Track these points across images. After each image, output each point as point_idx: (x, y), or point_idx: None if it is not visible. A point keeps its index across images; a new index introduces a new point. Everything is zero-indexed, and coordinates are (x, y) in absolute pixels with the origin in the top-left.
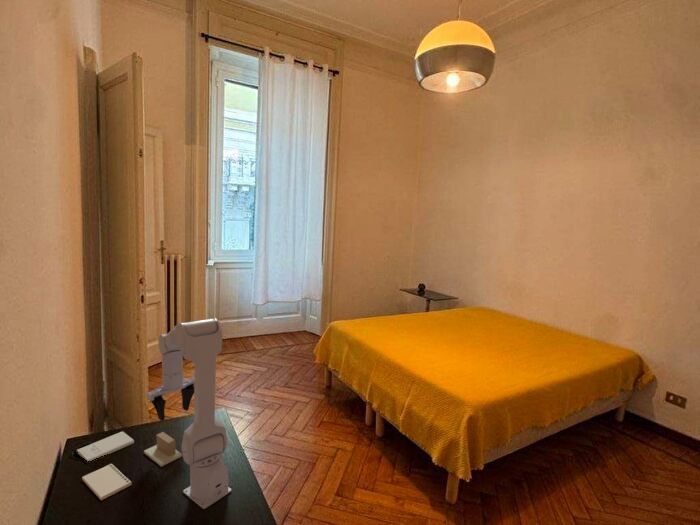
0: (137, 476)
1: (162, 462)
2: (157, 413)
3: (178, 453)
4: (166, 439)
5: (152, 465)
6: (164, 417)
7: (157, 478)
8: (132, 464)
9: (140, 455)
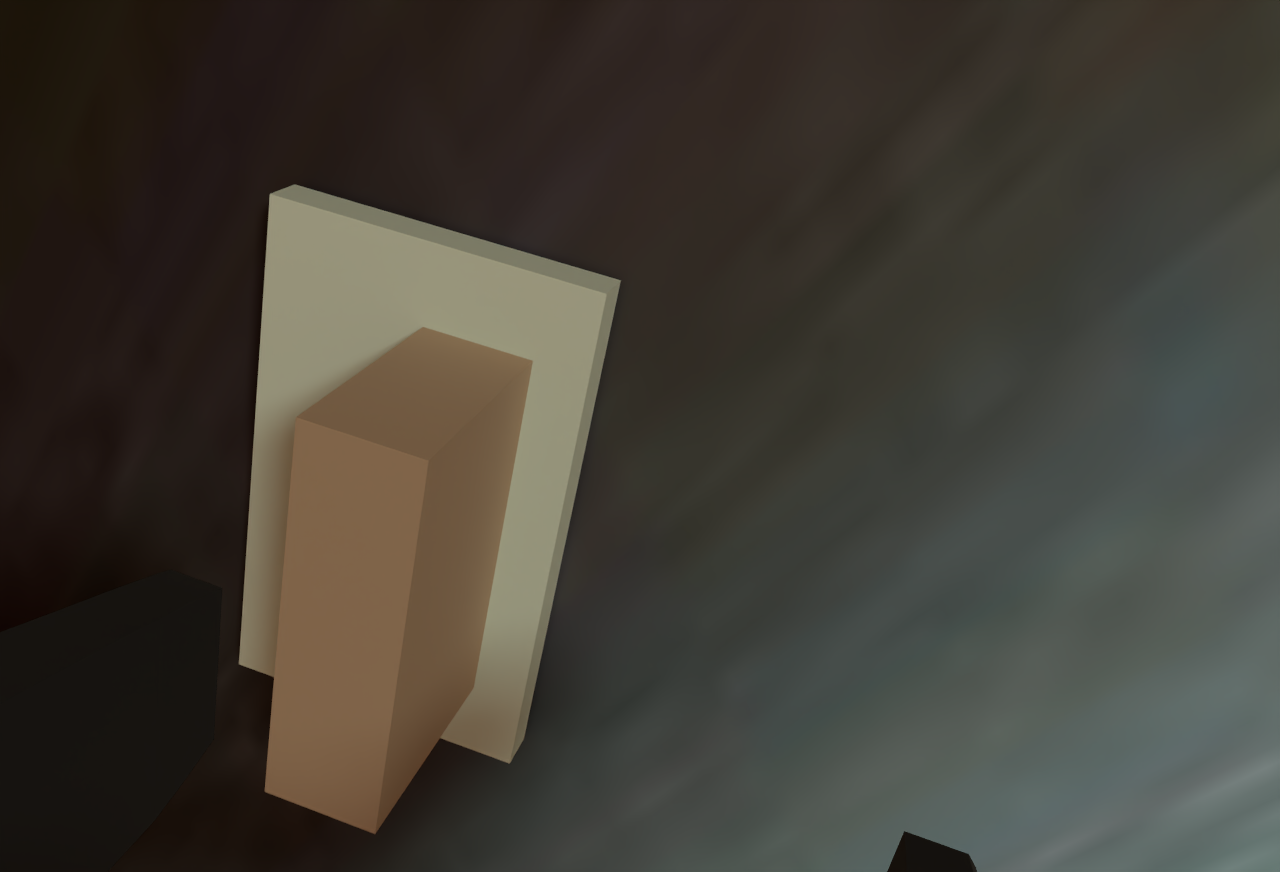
0: (26, 508)
1: (265, 657)
2: (24, 637)
3: (492, 722)
4: (308, 695)
5: (222, 517)
6: (163, 805)
7: None
8: (83, 253)
9: (244, 172)
